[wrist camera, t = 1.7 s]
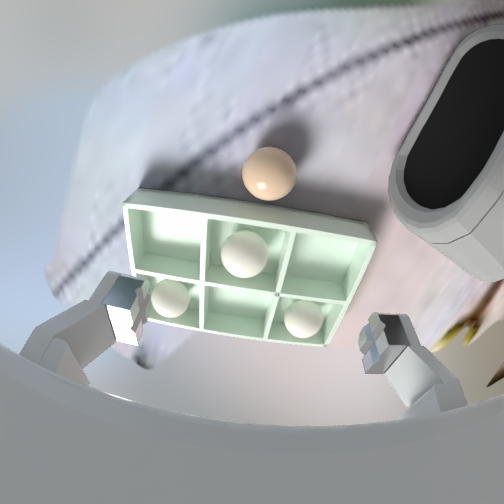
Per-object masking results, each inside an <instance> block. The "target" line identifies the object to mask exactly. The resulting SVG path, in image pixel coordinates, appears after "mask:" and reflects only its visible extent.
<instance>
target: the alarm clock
mask: <svg viewBox="0 0 504 504" xmlns="http://www.w3.org/2000/svg"><path fill="white" fill-rule="evenodd" d="M388 194H389V198H390V202H391V207H392V209H393V211H394V212H395V214H396V216H397V218H398V219H399V220H400V222H401V223H402V224H403V225H404V226H405V227H406V228H407V229H408V230H409V231H411V232H412V233H414V234H415V235H417V236H418V237H420V238H421V239H423V240H424V241H425V242H427V243H428V244H430V245H431V246H433V247H434V248H435V249H437V250H438V251H440V252H441V253H442V254H444V255H445V256H446V257H448V258H449V259H450V260H452V261H453V262H454V263H456V264H457V265H458V266H460V267H461V268H462V269H463V270H465V271H466V272H467V273H469V274H470V275H472V276H474V277H475V278H477V279H478V280H480V281H488V282H496V281H499V280H501V279H504V24H497V25H489V26H486V27H483V28H480V29H477V30H476V31H474V32H473V33H471V34H469V35H468V36H467V37H466V38H465V39H464V40H463V41H462V42H461V43H460V44H459V45H458V46H457V47H456V49H455V51H454V53H453V54H452V56H451V58H450V59H449V61H448V63H447V64H446V66H445V68H444V70H443V72H442V74H441V76H440V78H439V80H438V82H437V83H436V85H435V87H434V89H433V91H432V93H431V95H430V96H429V98H428V100H427V102H426V104H425V105H424V107H423V109H422V111H421V112H420V114H419V116H418V118H417V119H416V121H415V123H414V125H413V126H412V128H411V130H410V131H409V133H408V135H407V137H406V139H405V141H404V142H403V144H402V146H401V148H400V150H399V152H398V154H397V156H396V158H395V159H394V161H393V164H392V168H391V172H390V175H389V185H388Z"/></svg>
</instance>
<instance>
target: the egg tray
mask: <svg viewBox="0 0 504 504" xmlns="http://www.w3.org/2000/svg"><path fill="white" fill-rule="evenodd" d="M123 212H124V222H125V230H126V238H127V246H128V253H129V259H130V265H131V271H132V276H136V277H140V278H144V279H147V280H149V286H150V288H149V291H148V294H149V295H150V297H151V294H152V291H153V288H154V287H155V285H156V284H157V283H159V282H160V281H162V280H164V279H171V280H177V281H180V282H182V283H183V284H184V285H185V286H186V288H187V289H188V291H189V295H190V302H189V306H188V308H187V310H186V311H185V312H184V313H183V314H182V315H180V316H178V317H174V318H168V317H164V316H162V315H160V314H159V313H158V312H157V311H156V310H155V309H154V307H153V305H152V301H151V311H150V316H149V318H148V321H153V322H157V323H162V324H167V325H171V326H176V327H181V328H186V329H192V330H197V331H202V332H208V333H214V334H220V335H227V336H233V337H239V338H246V339H253V340H261V341H269V342H277V343H287V344H295V345H306V346H318V347H327V346H328V344H329V342H330V340H331V338H332V337H333V335H334V333H335V331H336V329H337V327H338V325H339V323H340V322H341V320H342V318H343V316H344V314H345V312H346V310H347V308H348V306H349V304H350V302H351V300H352V298H353V296H354V294H355V292H356V289H357V287H358V285H359V283H360V281H361V279H362V277H363V274H364V272H365V270H366V268H367V265H368V263H369V261H370V259H371V256H372V254H373V252H374V249H375V247H376V244H377V242H378V241H377V240H376V238H375V236H374V234H373V232H372V230H371V228H370V227H369V225H368V223H366V222H361V221H356V220H351V219H346V218H341V217H336V216H331V215H326V214H321V213H315V212H310V211H304V210H298V209H293V208H287V207H281V206H275V205H268V204H262V203H256V202H249V201H242V200H235V199H228V198H221V197H214V196H206V195H198V194H190V193H182V192H173V191H164V190H155V189H145V188H138V189H137V190H136V191H134V192H133V193H132V194H131V195H130V196H129V197H128V198H127V199H126V200H125V201H124V202H123ZM240 230H249V231H253V232H255V233H257V234H259V235H260V236H261V237H262V238H263V239H264V240H265V242H266V244H267V247H268V251H269V257H268V262H267V264H266V266H265V268H264V269H263V270H262V271H261V272H260V273H259V274H257V275H255V276H253V277H250V278H240V277H236V276H234V275H232V274H231V273H229V272H228V271H227V270H226V268H225V267H224V265H223V263H222V260H221V248H222V245H223V243H224V241H225V240H226V239H227V237H228V236H230V235H231V234H232V233H234V232H237V231H240ZM300 299H301V300H308V301H314V302H315V303H317V304H318V305H319V307H320V308H321V310H322V312H323V324H322V326H321V328H320V330H319V331H318V332H317V333H316V334H315V335H313V336H311V337H308V338H299V337H296V336H294V335H292V334H291V333H290V332H289V331H288V330H287V328H286V326H285V323H284V315H285V312H286V310H287V308H288V307H289V306H290V305H291V304H292V303H293V302H295V301H297V300H300Z"/></svg>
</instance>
